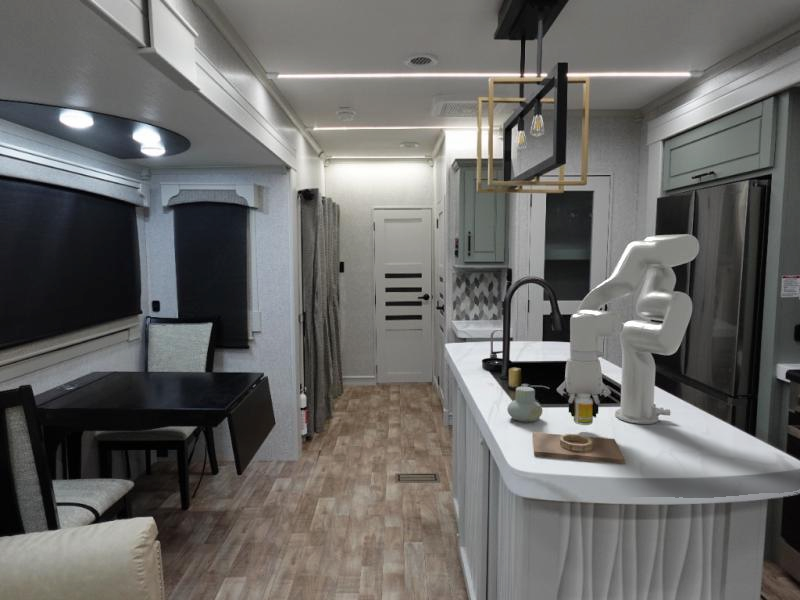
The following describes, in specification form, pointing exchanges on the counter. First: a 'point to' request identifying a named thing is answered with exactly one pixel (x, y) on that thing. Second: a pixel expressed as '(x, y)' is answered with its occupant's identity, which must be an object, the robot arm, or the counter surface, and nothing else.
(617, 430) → the counter surface
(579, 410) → the supplement bottle
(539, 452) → the wooden board
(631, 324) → the robot arm
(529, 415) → the air freshener
